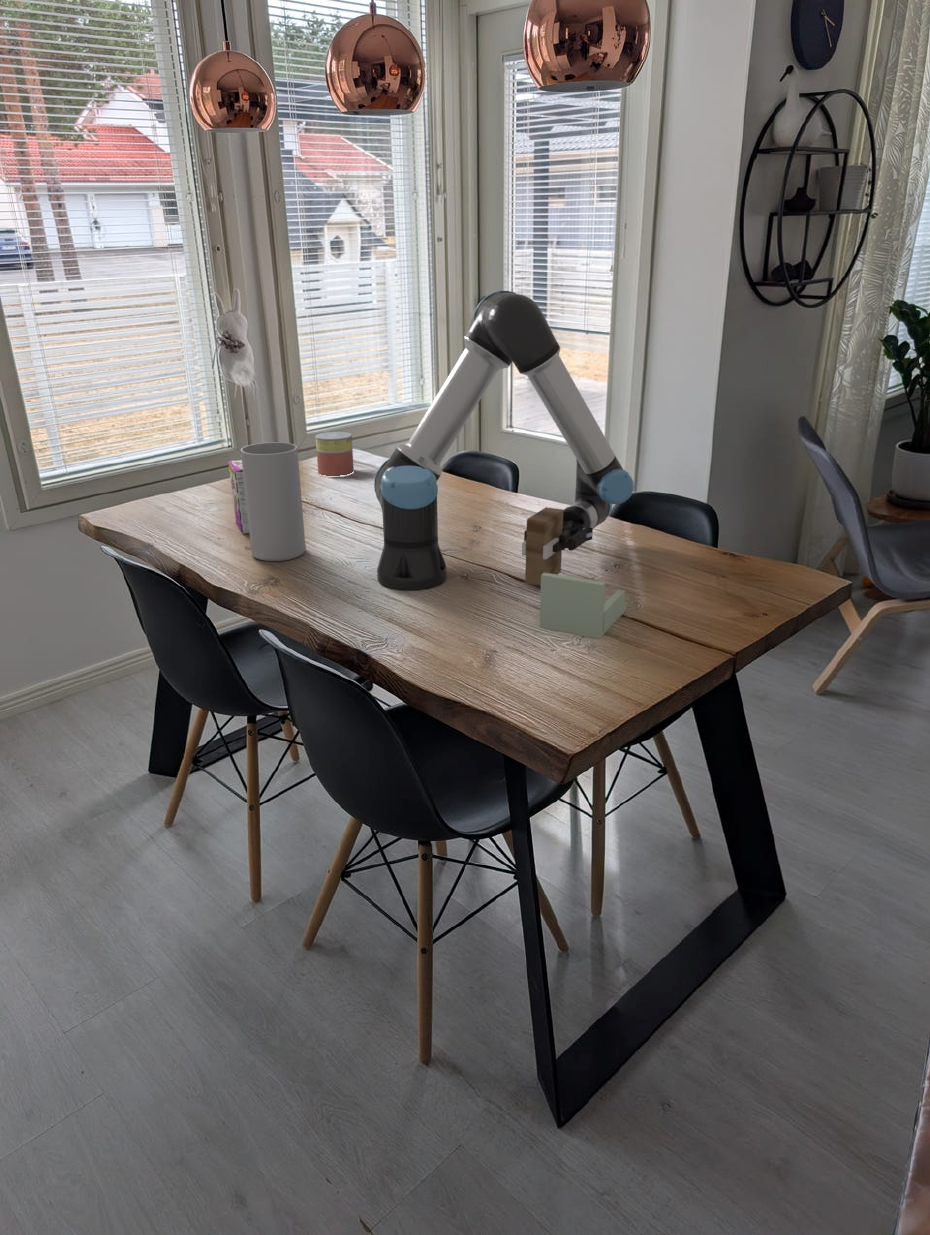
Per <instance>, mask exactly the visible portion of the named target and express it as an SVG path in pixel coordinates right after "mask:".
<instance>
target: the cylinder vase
mask: <svg viewBox="0 0 930 1235" xmlns="http://www.w3.org/2000/svg"><path fill="white" fill-rule="evenodd" d="M240 456H241V460H242V467H243V476H244V486H245V495H246V504H247V513H248V523H249V532H250V533H249V539H250V550H251V554H252V556H253V557H254V558H256V559H258V560H261V561H264V562H265V561H266V562H284V561H290V560H294V559H296V558H299V557H301V556H302V555H303V554H304V553H305V552H306V550H307V548H306V538H305V523H304V511H303V501H302V500H303V499H302V489H301V488H302V487H301V486H302V485H301V476H300V467H299V466H300V464H299V452H298V446H297V444H294V443H289V442H281V441H280V442H279V441H277V442H276V441H275V442H272V441H271V442H259V443H254V444H248V445H246V446H243V447H242V448H241V449H240Z"/></svg>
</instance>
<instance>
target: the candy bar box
mask: <svg viewBox="0 0 930 1235" xmlns="http://www.w3.org/2000/svg"><path fill="white" fill-rule="evenodd" d="M228 471H229V478H230V484H231V485H230V487H231V493H232V501H233V509H234V510H233V511H234V518H235V523H236V525H237V526H238V528H239V530H240V532H241V534H242V535H250V532H249V523H248V513H247V504H246V495H245V486H244V476H243V467H242V459H237V460H230V461H229V460H228Z"/></svg>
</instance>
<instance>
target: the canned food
mask: <svg viewBox="0 0 930 1235" xmlns="http://www.w3.org/2000/svg"><path fill="white" fill-rule="evenodd" d="M314 437H315V448H316V462H317V463H316V464H317V474H318V473H319V474H321V475H326V476H340V475H347V474H350V473H352V472H353V471H354V472H355V469H354V451H353V450H354V449H353V434H352V433H351V432H347V431H326V432H320V433H318V434H315V436H314Z"/></svg>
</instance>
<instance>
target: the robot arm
mask: <svg viewBox="0 0 930 1235" xmlns="http://www.w3.org/2000/svg"><path fill="white" fill-rule="evenodd" d="M463 340H464V346H465V348H464V350H463V351H462V353H461V354H460V356H459V357H458V360H457V361H456V363H455V365H454V366H453V368H452V370H451V371H450V372H449V374H448V376H447V378H446V379H445V380H444V382H443V384H442V385H441V387H440V389H439V391H438V392H437V394H436V395H435V397H434V399H433V400H432V401H431V403H430V405H429V407H428V409H427V410H426V412H425V413H424V415H423V416H422V418H421V420H420V422H419V423H418V425H417V426H416V428H415V429H414V432H413V433H412V435H411V436H410V438H409V440H408V441H407V442H405V443H402V444H398V445H397V446H396V448H395V449H394V450H393V452H392V454H391V455H390V457H389V458H388V459H387V460H385V461H384V462H383V463H382V464H381V465H380V467H378V469H377V471H376V474H375V475H374V484H373V485H374V486H373V487H374V492H375V496H376V499H377V501H378V502H379V505H380V508H381V512H382V529H383V530H382V532H383V533H382V534H383V548H382V551H381V555H380V557H379V561H378V566H377V569H376V573H377V574H376V577H377V582H378V583H379V584H380V585H382V586H384V587H387V588H390V589H394V590H402V591H415V590H425V589H429V588H434V587H437V586H439V585H441V584H443V583H444V582H445V581H446V580H447V577H448V568H447V565H446V562H445V559H444V557H443V556H444V555H443V554H442V551H441V548H440V545H439V526H438V525H439V524H438V522H439V520H438V519H439V517H438V492H439V486H438V484H437V482H438V481H439V479H440V477H441V476H442V468H441V463H442V461H443V459H444V458H445V456H446V455H447V453H448V452H449V450H450V449H451V447H452V445H453V444H454V442H455V441H456V439H457V437H458V435H459V434H460V433H461V431H462V429H463V428H464V426H465V424H466V423H467V422H468V420H469V418H470V417H471V415H472V414H473V411H474V410H475V409H476V407H477V405H478V404H479V402H480V400H481V398H482V397H483V396H484V394H485V392H486V391H487V389H488V388H489V386H490V385H491V383H492V381H493V380H494V378H495V377H496V375H497V373H498V372H499V371H500V370H503V369H506V368H507V369H508V368H510V366H511V364H512V363H513V364H514V366H515V367H516V369H517V370H518V372H519V374H520V375H524V376H527V378H528V380H529V381H530V383H531V385H532V386H533V388H534V390H535V391H536V394H537V395H538V397H539V399H540V400H541V402H542V403H543V405H544V407H545V408H546V410H547V412H548V413H549V415H550V416H551V418H552V420H553V422H554V423H555V425H556V426H557V429H558V430H559V432H560V433H561V436H562V437H563V438H564V440H565V442H566V444H567V446H568V447H569V449H570V450H571V452H572V454H573V456H574V457H575V460H576V462H575V463H576V470H575V471H576V472H575V473H576V474H575V475H576V476H575V494H574V502H573V503H571V504H570V505H568V506H567V507H565V508H564V509H563V532H562V535H560V540H559V538H554V539H553V540H552V541H550V542H549V543H547V544H546V545H545V546H543V559H547V558H549V557H550V556H551V555H553V554H554V553H555V552H559V551H560V550H562V551H564V550H565V549H567V550H568V551H575V550H576V549H577V548H579V547H580V546H582V545H583V544H584V543H586V542H588V541H592V540H593V533H594V532H593V531H594V528H596V527H598V526H599V525H601V524H603V523H604V522H605V521H606V519H608V517H609V516H610V514H611V513H612V509H613V505H620V504H623V503H625V502H627V500H629V499H630V498H631V496H632V495H633V492H634V489H635V488H634V484H635V483H634V480H633V478H632V476H631V475H630V474H629V472H628V471H627V470H625V469H624V468H623V466H622V464H621V463H620V461H619V460H618V458H617V456H616V454H615V452H614V451H613V448H612V447H611V445H610V443H609V441H608V440H607V438H606V437H605V435H604V433H603V431H602V429H601V427H600V426H599V424H598V422H597V420H596V419H595V417H594V415H593V413H592V412H591V410H590V408H589V406H588V404H587V403H586V401H585V399H584V397H583V395H582V394H581V392H580V390H579V389H578V387H577V385H576V384H575V382H574V380H573V377H572V376H571V374H570V372H569V370H568V369H567V367H566V365H565V364H564V362H563V360H562V358H561V357H560V352H561V345H560V344H559V342H558V341H557V339H556V337H555V335H554V333H553V330H552V329H551V327H550V325H549V323H548V321H547V319H546V317H545V314H544V313H543V311H542V310H541V308H540V307H539V305H538V304H537V303H536V301H534V300H533V299H532V298H530V297H528V296H526V295H523V294H520V293H516V292H514V291H511V290H498V291H495V292H492V293H490V294H488V295H487V296H485V297H484V298H482V300H480V302H479V303H478V305H477V307H476V308H475V312H474V314H473V321H472V323H471V325H470V326H469V328H468V329H467V331H466V333H465V334H464V336H463ZM523 533H524V534H523V537H524V538H523V542H522V543H521V556H522V557H523V556H524V557H526V533H527V529H526V530H525V531H524V532H523Z"/></svg>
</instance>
